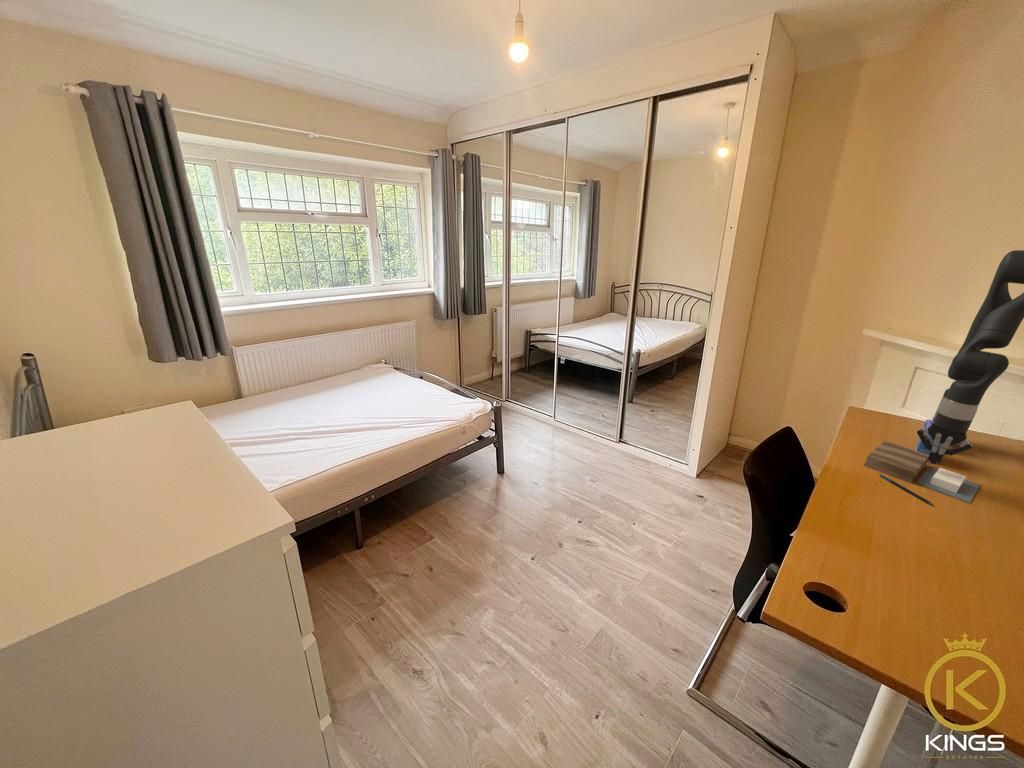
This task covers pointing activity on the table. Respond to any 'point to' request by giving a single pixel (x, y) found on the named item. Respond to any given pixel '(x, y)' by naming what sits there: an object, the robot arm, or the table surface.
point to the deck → (897, 461)
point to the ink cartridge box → (920, 446)
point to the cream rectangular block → (947, 480)
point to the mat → (963, 493)
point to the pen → (906, 490)
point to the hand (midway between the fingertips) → (933, 462)
